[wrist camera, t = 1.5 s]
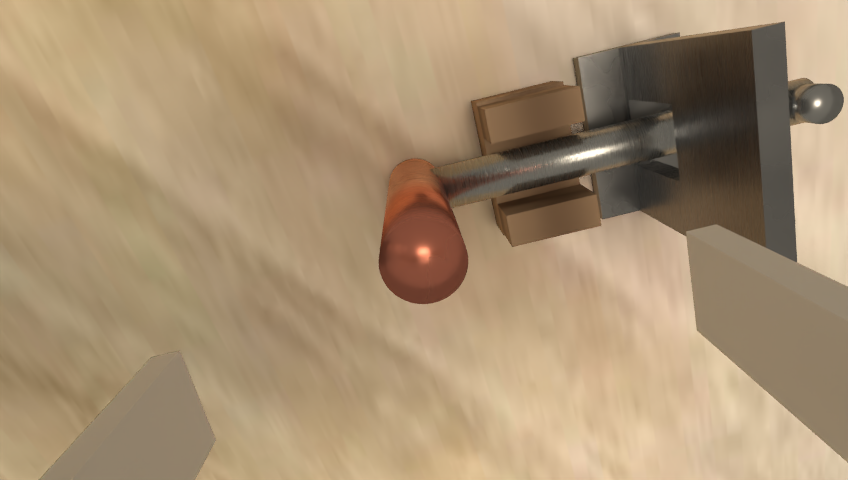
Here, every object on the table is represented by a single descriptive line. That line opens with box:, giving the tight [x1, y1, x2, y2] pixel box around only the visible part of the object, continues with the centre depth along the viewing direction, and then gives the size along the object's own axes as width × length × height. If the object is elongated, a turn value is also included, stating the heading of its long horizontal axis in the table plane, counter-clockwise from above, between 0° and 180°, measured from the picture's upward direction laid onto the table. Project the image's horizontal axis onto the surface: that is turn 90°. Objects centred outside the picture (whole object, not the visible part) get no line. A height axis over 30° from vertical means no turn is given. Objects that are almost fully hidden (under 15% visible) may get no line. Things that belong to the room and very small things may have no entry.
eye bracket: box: [573, 22, 797, 262], centre depth 28 cm, size 6×10×14 cm, turn 13°
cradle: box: [471, 81, 601, 247], centre depth 32 cm, size 5×8×6 cm, turn 13°
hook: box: [379, 78, 844, 304], centre depth 27 cm, size 24×3×15 cm, turn 103°
